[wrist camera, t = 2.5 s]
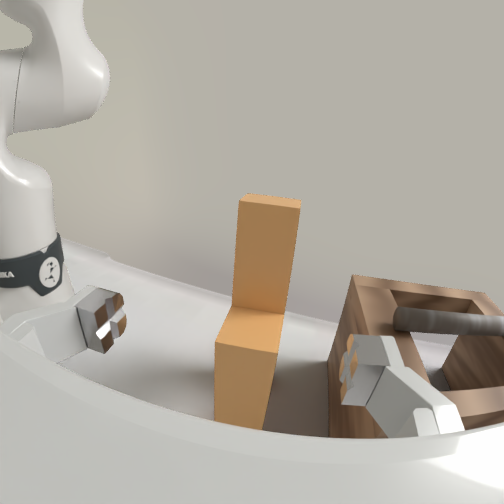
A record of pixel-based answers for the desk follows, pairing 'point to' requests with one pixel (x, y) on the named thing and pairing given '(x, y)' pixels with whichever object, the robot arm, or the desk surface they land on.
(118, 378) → the desk surface
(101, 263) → the desk surface
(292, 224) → the tall tan upright block
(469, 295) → the tan rectangular frame
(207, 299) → the desk surface
